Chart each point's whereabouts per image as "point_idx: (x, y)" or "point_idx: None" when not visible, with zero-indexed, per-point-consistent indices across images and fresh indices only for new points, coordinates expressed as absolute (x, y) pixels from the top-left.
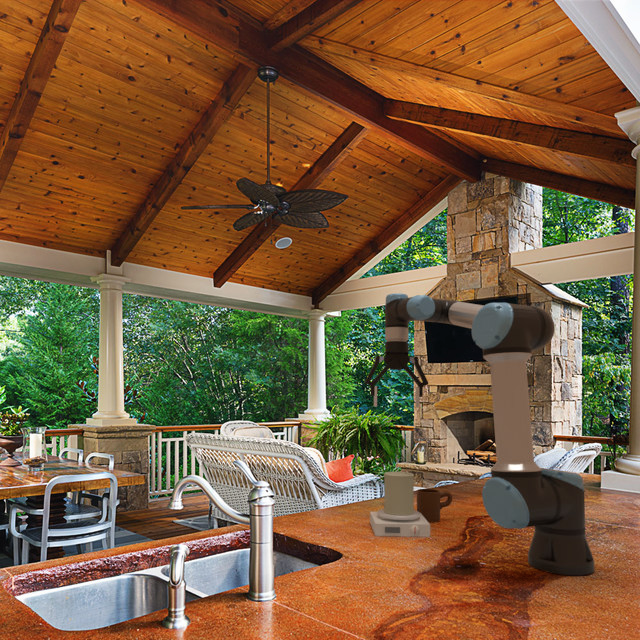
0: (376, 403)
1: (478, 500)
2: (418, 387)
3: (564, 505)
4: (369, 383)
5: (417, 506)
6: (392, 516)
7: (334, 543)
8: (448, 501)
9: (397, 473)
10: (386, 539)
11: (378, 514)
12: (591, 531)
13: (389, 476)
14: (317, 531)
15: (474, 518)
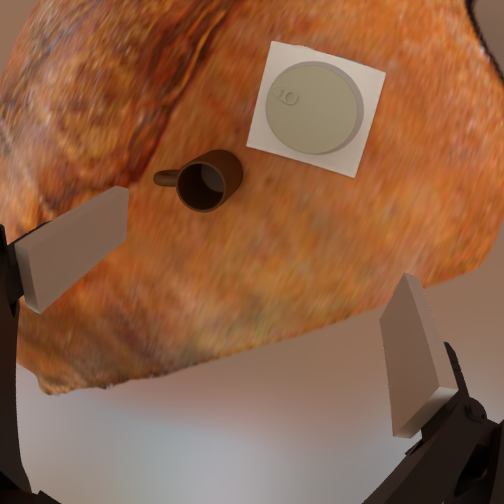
0: (411, 286)
1: (92, 291)
2: (22, 245)
3: None
4: (487, 427)
5: (236, 180)
6: (346, 73)
7: (465, 57)
8: (167, 171)
9: (311, 121)
10: (368, 47)
11: (363, 112)
12: (28, 81)
13: (352, 91)
14: (469, 142)
15: (133, 170)
